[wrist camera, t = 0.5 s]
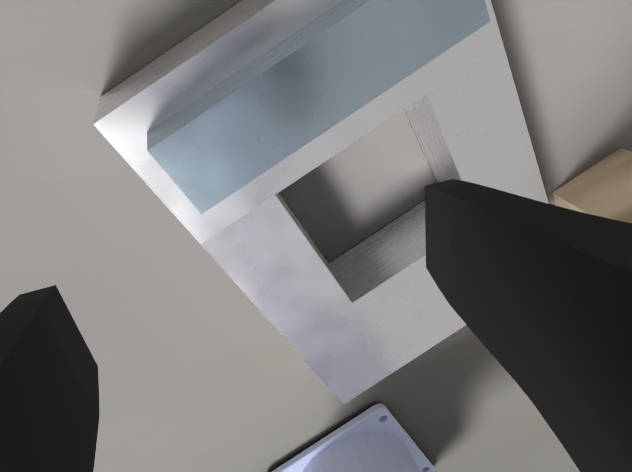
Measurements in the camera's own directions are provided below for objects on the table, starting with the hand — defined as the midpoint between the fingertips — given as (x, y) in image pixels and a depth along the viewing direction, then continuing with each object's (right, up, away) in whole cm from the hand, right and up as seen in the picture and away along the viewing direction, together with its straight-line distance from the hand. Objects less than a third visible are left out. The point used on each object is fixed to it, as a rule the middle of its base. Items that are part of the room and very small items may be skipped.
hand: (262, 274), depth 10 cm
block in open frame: (+3, +3, +11) cm, 12 cm away
